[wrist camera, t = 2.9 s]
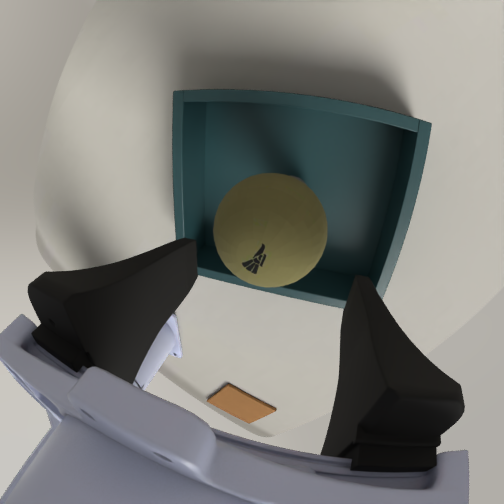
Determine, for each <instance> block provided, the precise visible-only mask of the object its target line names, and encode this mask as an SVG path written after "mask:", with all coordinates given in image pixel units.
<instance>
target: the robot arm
mask: <svg viewBox="0 0 504 504" xmlns="http://www.w3.org/2000/svg"><path fill="white" fill-rule="evenodd" d="M197 277H198V272H197V248H196V240H194V239H189V238H181V239H178V240H175V241H173V242H170V243H167V244H165V245H163V246H160V247H158V248H155V249H153V250H150V251H148V252H145V253H142V254H139V255H137V256H134V257H131V258H129V259H126V260H122V261H119V262H115V263H112V264H108V265H103V266H99V267H94V268H89V269H82V270H73V271H56V272H44V273H43V274H42V275H40V276H39V277H38V278H36V279H35V280H34V281H33V282H31V283H30V284H29V286H28V295H29V298H30V301H31V303H32V306H33V308H34V310H35V311H36V314H37V316H38V318H39V320H40V322H41V324H40V325H39V326H38V327H37V326H36V325H35V324H34V323H33V322H32V321H31V320H30V319H28V318H27V317H26V316H25V315H23V314H21V315H20V316H18V317H17V318H16V319H15V320H14V321H13V322H12V323H11V324H10V325H9V326H8V327H7V328H6V329H5V330H4V331H3V332H2V333H1V334H0V360H1V362H2V363H3V364H4V366H5V367H6V368H7V370H8V371H9V372H10V373H11V375H12V376H13V377H14V379H15V380H16V381H17V382H18V383H19V384H20V385H21V386H22V387H23V388H24V389H25V390H26V391H27V392H28V393H29V394H30V395H31V396H32V397H33V398H34V399H35V400H36V401H37V402H38V403H39V404H40V405H41V406H43V407H44V408H45V409H46V411H47V414H48V417H49V421H50V424H51V428H50V429H49V431H48V432H47V433H46V435H45V436H44V437H43V439H42V440H41V442H40V443H39V444H38V445H37V447H36V448H35V450H34V451H33V452H32V454H31V455H30V456H29V458H28V459H27V461H26V462H25V464H24V465H23V466H22V468H21V469H20V471H19V472H18V474H17V475H16V477H15V478H14V479H13V481H12V482H11V484H10V485H9V487H8V488H7V490H6V492H5V493H4V494H3V496H2V497H1V499H0V504H468V502H469V459H468V451H467V450H460V451H448V452H443V453H439V454H437V455H436V447H438V446H439V445H440V444H441V438H440V437H441V436H440V435H441V434H443V433H444V432H445V431H447V430H448V429H449V428H450V427H451V426H453V425H454V424H455V423H456V422H457V421H458V420H459V419H460V418H461V416H462V414H463V413H464V408H465V406H464V400H463V394H462V389H461V386H460V384H458V383H457V382H456V381H454V380H453V379H452V378H450V377H449V376H448V375H446V374H445V373H444V372H442V371H441V370H440V369H439V368H438V367H437V366H435V365H434V364H433V363H432V362H431V361H430V360H429V359H428V358H427V357H426V356H425V355H424V354H423V353H422V352H421V351H420V350H419V349H418V348H417V347H416V346H415V345H414V344H413V343H412V342H411V340H410V339H409V338H408V337H407V335H406V334H405V333H404V332H403V331H402V329H401V328H400V327H399V325H398V324H397V322H396V321H395V319H394V318H393V316H392V315H391V314H390V312H389V310H388V309H387V307H386V306H385V304H384V302H383V301H382V299H381V297H380V295H379V294H378V292H377V290H376V288H375V287H374V285H373V283H372V281H371V280H370V278H369V277H365V276H361V275H355V278H354V281H353V284H352V287H351V290H350V293H349V296H348V299H347V302H346V305H345V308H344V311H343V317H342V324H341V335H340V364H339V379H338V385H337V391H336V396H335V401H334V406H333V411H332V415H331V419H330V423H329V427H328V431H327V435H326V438H325V442H324V445H323V448H322V452H321V455H317V454H311V453H305V452H300V451H295V450H290V449H285V448H280V447H277V446H272V445H268V444H264V443H260V442H256V441H253V440H249V439H246V438H242V437H239V436H235V435H232V434H229V433H226V432H223V431H220V430H217V429H214V428H211V427H210V426H209V425H208V424H207V423H206V422H205V421H203V420H202V419H201V418H199V417H198V416H196V415H195V414H194V413H192V412H190V411H188V410H186V409H184V408H182V407H180V406H178V405H176V404H173V403H171V402H169V401H166V400H164V399H162V398H159V397H157V396H155V395H153V394H151V393H149V392H146V391H144V390H145V389H146V387H147V386H148V384H149V383H150V382H151V380H152V379H153V377H154V375H155V374H156V373H157V371H158V370H159V368H160V367H161V365H162V364H163V362H164V361H165V359H166V358H167V356H168V355H169V354H170V355H173V356H175V357H178V358H182V356H183V354H182V348H181V342H180V336H179V330H178V324H177V317H176V315H175V314H173V313H174V311H175V310H176V309H177V308H178V306H179V305H180V304H181V302H182V301H183V300H184V298H185V297H186V296H187V294H188V293H189V291H190V290H191V288H192V286H193V284H194V283H195V281H196V279H197Z"/></svg>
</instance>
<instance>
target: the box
mask: <svg viewBox="0 0 504 504" xmlns="http://www.w3.org/2000/svg"><path fill="white" fill-rule="evenodd" d="M431 126H432V124H431V123H429V122H426V121H423V120H420V119H417V118H414V117H410V116H407V115H403V114H400V113H396V112H392V111H388V110H385V109H380V108H376V107H372V106H368V105H363V104H358V103H353V102H348V101H343V100H337V99H331V98H325V97H318V96H311V95H304V94H295V93H285V92H274V91H259V90H235V89H203V90H179V91H174V92H173V124H172V156H173V194H174V215H175V232H176V240H178V239H181V238H189V239H194V240H196V248H197V272H198V275H200V276H204V277H208V278H212V279H216V280H220V281H224V282H228V283H232V284H236V285H240V286H244V287H248V288H253V289H257V290H261V291H265V292H270V293H274V294H278V295H283V296H287V297H292V298H296V299H301V300H305V301H310V302H314V303H319V304H324V305H328V306H333V307H338V308H343V309H344V308H345V305H346V302H347V299H348V296H349V293H350V290H351V287H352V284H353V281H354V278H355V275H361V276H365V277H369V278H370V280H371V281H372V283H373V285H374V287H375V288H376V290H377V292H378V294H379V295H380V297H381V299H383V297H384V294H385V292H386V289H387V287H388V284H389V282H390V279H391V276H392V274H393V271H394V268H395V266H396V263H397V260H398V257H399V254H400V251H401V248H402V245H403V242H404V239H405V236H406V233H407V230H408V226H409V223H410V220H411V216H412V213H413V209H414V206H415V202H416V198H417V194H418V190H419V186H420V182H421V178H422V173H423V169H424V164H425V159H426V154H427V149H428V144H429V138H430V132H431ZM262 173H279V174H285V175H288V176H289V175H291V176H296V177H299V178H300V179H302V180H303V181H304V182H305V183H306V185H307V186H308V187H309V188H310V189H311V190H312V191H313V192H314V193H315V195H316V196H317V197H318V199H319V200H320V202H321V204H322V206H323V209H324V211H325V214H326V219H327V242H326V246H325V249H324V251H323V254H322V256H321V258H320V259H319V261H318V263H317V264H316V265H315V267H314V268H313V269H312V270H311V271H310V272H309V273H308V274H307V275H305V276H304V277H302V278H301V279H299V280H298V281H296V282H294V283H291V284H288V285H285V286H280V287H260V286H256V285H253V284H250V283H247V282H245V281H243V280H241V279H240V278H238V277H237V276H236V275H234V274H233V273H232V272H231V271H230V270H229V269H228V268H227V267H226V266H225V264H224V263H223V261H222V260H221V258H220V256H219V254H218V252H217V248H216V245H215V241H214V233H213V228H214V220H215V215H216V212H217V209H218V207H219V204H220V203H221V201H222V200H223V198H224V196H225V195H226V194H227V193H228V192H229V191H230V190H231V188H232V187H233V186H235V185H236V184H237V183H239V182H240V181H242V180H244V179H246V178H248V177H250V176H253V175H257V174H262Z"/></svg>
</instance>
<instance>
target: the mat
mask: <svg viewBox="0 0 504 504" xmlns="http://www.w3.org/2000/svg"><path fill="white" fill-rule="evenodd" d="M207 402H209V403H211V404H213V405H214V406H216V407H218V408H220V409H222V410H224V411H225V412H227V413H229V414H231V415H233V416H235V417H237V418H239V419H241V420H243V421H245V422H247V423H252V422H254V421H256V420H258V419H260V418H262V417H265V416H267V415H269V414H271V413H273V412H275V411H276V408H274V407H272V406H270V405H268V404H266V403H264V402H262V401H260V400H258V399H256V398H254V397H252V396H251V395H249V394H247V393H245V392H243V391H241V390H240V389H238V388H236V387H234V386H233V385H231V384H228V385H226V386H225V387H224V388H222V389H221V390H220V391H218V392H217V393H216V394H214V395H213V396H212V397H210V398H209V399H208V400H207Z"/></svg>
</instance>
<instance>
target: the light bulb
mask: <svg viewBox="0 0 504 504" xmlns="http://www.w3.org/2000/svg"><path fill="white" fill-rule="evenodd" d="M213 233H214V241H215V245H216V248H217V252H218V254H219V256H220V258H221V260H222V261H223V263H224V264H225V266H226V267H227V268H228V269H229V270H230V271H231V272H232V273H233V274H234V275H236V276H237V277H238V278H240V279H241V280H243V281H245V282H247V283H250V284H253V285H256V286H260V287H280V286H285V285H288V284H291V283H294V282H296V281H298V280H299V279H301V278H302V277H304V276H305V275H307V274H308V273H309V272H310V271H311V270H312V269H313V268H314V267H315V265H316V264H317V263H318V261H319V259H320V258H321V256H322V254H323V251H324V249H325V246H326V242H327V219H326V214H325V211H324V209H323V206H322V204H321V202H320V200H319V199H318V197H317V196H316V195H315V193H314V192H313V191H312V190H311V189H310V188H309V187H308V186H307V185H306V183H305V182H304V181H303V180H302V179H300V178H299V177H296V176H291V175H289V176H288V175H285V174H279V173H262V174H257V175H253V176H250V177H248V178H246V179H244V180H242V181H240V182H239V183H237V184H236V185H235V186H233V187H232V188H231V190H230V191H229V192H228V193H227V194H226V195H225V196H224V198H223V200H222V201H221V203H220V204H219V207H218V209H217V212H216V215H215V220H214V228H213Z"/></svg>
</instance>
